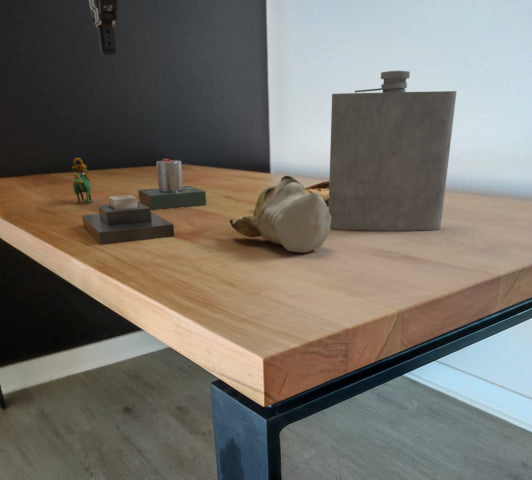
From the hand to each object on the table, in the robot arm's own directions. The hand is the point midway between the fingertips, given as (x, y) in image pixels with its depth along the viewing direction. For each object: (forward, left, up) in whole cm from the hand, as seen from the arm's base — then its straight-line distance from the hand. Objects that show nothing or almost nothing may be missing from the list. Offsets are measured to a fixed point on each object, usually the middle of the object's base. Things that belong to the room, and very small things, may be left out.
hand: (108, 54), depth 86 cm
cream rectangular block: (-4, -19, -21) cm, 29 cm away
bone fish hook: (+30, -13, -24) cm, 40 cm away
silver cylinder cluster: (+9, +1, -21) cm, 23 cm away
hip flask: (+29, -36, -24) cm, 52 cm away
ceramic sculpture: (+12, -38, -24) cm, 47 cm away
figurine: (-5, +12, -24) cm, 28 cm away
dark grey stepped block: (-4, -19, -24) cm, 31 cm away
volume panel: (+9, +1, -24) cm, 26 cm away
